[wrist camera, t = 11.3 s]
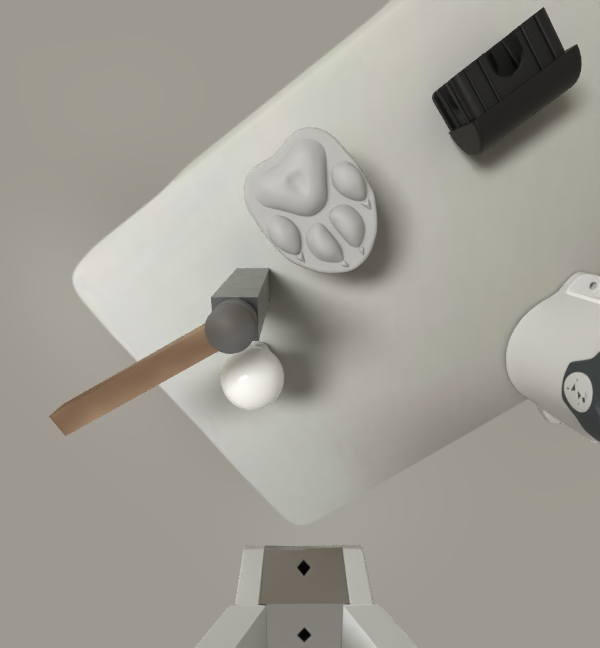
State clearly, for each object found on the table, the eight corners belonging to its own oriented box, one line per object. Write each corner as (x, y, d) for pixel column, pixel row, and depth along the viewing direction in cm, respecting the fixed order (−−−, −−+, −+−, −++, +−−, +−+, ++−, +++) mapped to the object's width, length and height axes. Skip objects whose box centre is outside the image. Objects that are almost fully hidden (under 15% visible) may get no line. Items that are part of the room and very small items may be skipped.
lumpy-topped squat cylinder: (315, 124, 41) (319, 105, 33) (388, 226, 44) (410, 231, 36) (238, 192, 43) (224, 189, 35) (314, 285, 46) (318, 303, 38)
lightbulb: (269, 315, 47) (261, 348, 36) (295, 360, 49) (295, 404, 38) (222, 340, 48) (201, 379, 37) (249, 383, 49) (237, 432, 39)
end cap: (460, 160, 42) (490, 152, 36) (425, 99, 41) (450, 79, 34) (547, 96, 41) (594, 76, 34) (513, 30, 39) (557, -4, 33)
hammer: (266, 328, 32) (263, 339, 30) (86, 428, 34) (70, 445, 32) (242, 289, 31) (237, 297, 29) (59, 394, 33) (39, 410, 31)
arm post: (269, 268, 45) (257, 297, 32) (269, 299, 46) (258, 340, 33) (236, 268, 45) (211, 297, 32) (238, 299, 46) (213, 340, 33)
